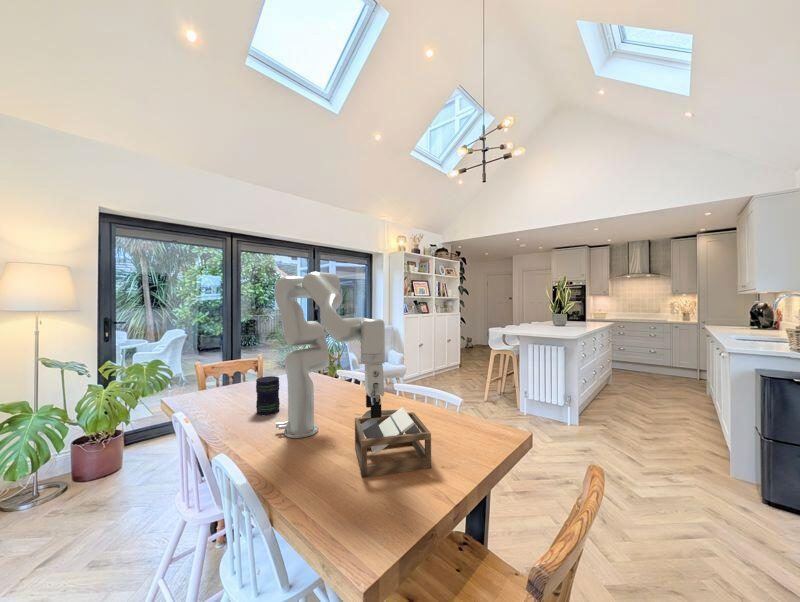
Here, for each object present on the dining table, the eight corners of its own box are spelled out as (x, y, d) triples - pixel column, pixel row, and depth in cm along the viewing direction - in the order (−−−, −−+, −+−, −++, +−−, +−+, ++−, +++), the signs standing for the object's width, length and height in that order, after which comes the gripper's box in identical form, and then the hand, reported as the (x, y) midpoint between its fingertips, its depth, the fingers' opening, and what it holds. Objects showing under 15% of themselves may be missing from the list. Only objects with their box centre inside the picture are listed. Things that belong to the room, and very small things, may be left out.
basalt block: (383, 436, 100) (376, 422, 99) (369, 444, 99) (362, 430, 98) (380, 429, 105) (374, 416, 104) (367, 437, 104) (360, 424, 103)
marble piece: (405, 418, 137) (405, 408, 137) (400, 432, 123) (400, 422, 123) (367, 416, 139) (367, 407, 139) (358, 430, 125) (358, 420, 125)
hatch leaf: (381, 467, 94) (372, 454, 94) (373, 444, 109) (365, 433, 108) (422, 434, 97) (414, 422, 97) (409, 417, 112) (401, 406, 111)
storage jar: (274, 415, 141) (274, 381, 140) (252, 415, 141) (251, 381, 141) (283, 407, 150) (282, 376, 150) (262, 407, 151) (261, 376, 151)
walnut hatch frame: (361, 477, 91) (361, 441, 91) (355, 448, 109) (354, 417, 109) (431, 467, 96) (430, 433, 96) (413, 441, 114) (413, 412, 114)
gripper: (390, 362, 94) (390, 421, 94) (379, 353, 110) (380, 402, 110) (364, 364, 92) (365, 423, 92) (357, 354, 109) (358, 404, 109)
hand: (373, 412), depth 101 cm, fingers open, 9 cm apart
